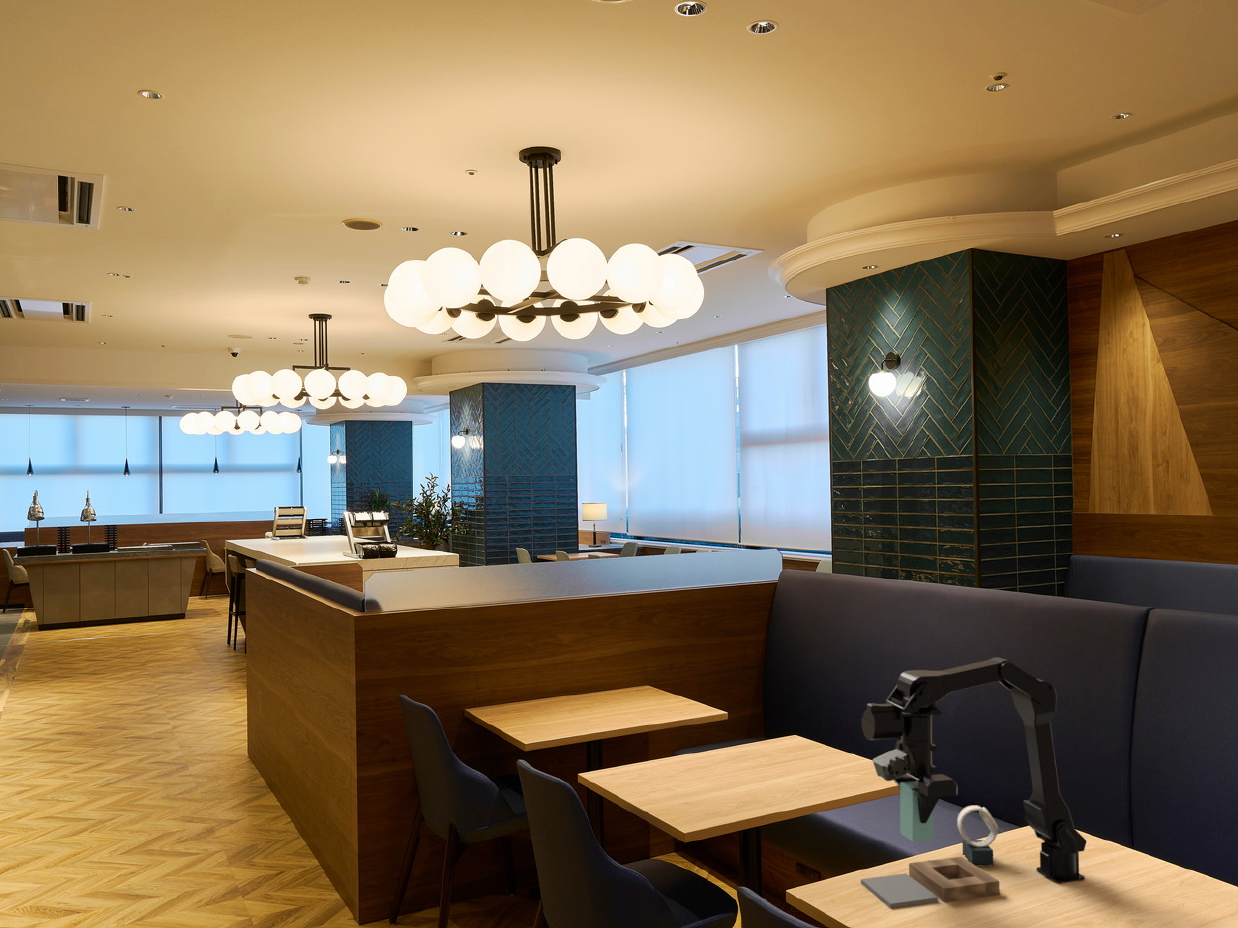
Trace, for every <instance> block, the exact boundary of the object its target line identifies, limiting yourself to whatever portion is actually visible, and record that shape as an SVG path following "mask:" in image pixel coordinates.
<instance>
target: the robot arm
mask: <svg viewBox="0 0 1238 928" xmlns="http://www.w3.org/2000/svg"><path fill="white" fill-rule="evenodd" d="M998 682H999V683H1000V684H1001V685H1002V686H1003V687H1005V688H1006V689H1007V690H1009V691H1010V695H1011V697H1012V701H1013V705H1014V707H1015V709H1016V711H1017V713H1018V714H1019V715H1020V717H1021V719H1022V721H1023V725H1024V731H1025V739H1026V747H1027V748H1026V749H1027V755H1028V763H1029V771H1030V779H1031V784H1032V785H1031V786H1032V794H1031V795H1030V797H1029V799H1027V800H1026V799H1025V800H1023V802H1022V805H1023V807H1024V814H1025V815H1024V819H1023V820H1024V821H1027V823H1028V825H1029V827H1030V828H1031V829H1032V830H1033V831H1034V834H1035V836H1036V838H1038V839H1040V840H1042V841H1043V842H1041V843H1040V845H1041V846H1040V847H1041V850H1040V851H1039V864H1040V865H1039V866H1038V867H1036V871H1037V872H1039V873H1040V874H1041V875H1043V876H1045V877H1047V878H1049V879H1051V880H1052V881H1054V882H1056V883H1058V884H1062V883H1068V882H1076V881H1083V880H1085V879H1086V876H1085V875H1083V874H1081V873H1080V855H1079V854H1080V853H1081V852H1084V851H1085V848H1086V845H1087V840H1086V838H1084V837H1083V836H1082V834H1081V833H1080V832H1078V830H1076V828H1075V826H1074V822H1073V818H1072V816H1071V812H1070V809H1069V807H1068V806H1067V804H1066V803H1065V801H1064V799H1063V797H1062V795H1061V791H1060V786H1059V778H1058V777H1059V776H1058V771H1057V770H1058V769H1057V764H1056V763H1057V762H1056V756H1055V748H1054V742H1053V741H1054V739H1053V732H1052V721H1053V718H1054V716H1055V714H1056V711H1057V691H1056V688H1055V687H1054V686H1053V685H1052V684H1051V683H1050V682H1049V681H1046V680H1043V679H1040V678H1036V677H1034V676H1033V675H1031V674H1029V673H1028V672H1026V671H1025V670H1023V669H1021V668H1019V666H1017V665H1016V664H1014V663H1013V661H1010V660H1008V659H1005V658H1001V657H998V656H997V657H996V656H995V657H991V658H990V659H987V660H982V661H977V662H974V663H968V664H965V665H960V666H956V667H952V668H947V669H943V670H926V669H917V670H916V669H914V670H913V669H912V670H910V669H909V670H905V671H903V672H902V673H900V676H899V677H898V679H897V682H896V685H895V686H894V688H893V690H892V691H891V692H890V694H889V696H887V698H886V700H885V703H875V702H874V703H873V702H871V703H869V702H868V703H867V704H866V709H865V710H864V712H863V714H862V718H861V730H862V733H863V735H864V737H865V739H866V740H868V741H878V740H879V741H883V740H884V741H885V740H896V743H895V747H894V749H893V750H890V751H887V752H884V753H883V754H880V755H878V756H876V757H874V758H873V759H872V763H873V766H874V770H875V772H876V774H877V776H878V777H881V778H883V779H884V781H886V782H890V781H893V782H894V783H895V784H896V785H897V786H898V789H899V791H900V782H912V781H918V788H911V790H912V791H913V792H914V793H915V794H916V795H917V797H918V808H919V817H920V822H921V823H926V822H927V820H928V819H929V817H930V815H931V813H932V811H933V812H934V809H935V807H936V805H937V803H938V802H939V801H940V799H941V797H942V798H943V797H951V796H953V797H954V796H957V795H958V783H957V782H956V781H955V780H954V779H953V778H951V777H949V776H947V775H945V774H942V773H941V774H931V773H937V771H938V767H937V766H935V765H934V764H933V752H936V751H937V748H938V746H937V745H936V744H935V743H933V716H936V717H937V716H942V715H944V714H943V713H944V712H943V711H942V710H941V709H939V707H938V706H937V705H936V703H937V702H939V701H941V700H943V699H944V698H945V697H946V696H948V695H949V694H952V693H954V692H959V691H963V690H968V689H972V688H975V687H976V688H977V687H980V686H985V685H988V684H994V683H998ZM904 699H905V700H907V701H905V700H904ZM900 737H901V738H900ZM899 738H900V739H901V740H899ZM937 752H938V751H937Z"/></svg>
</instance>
